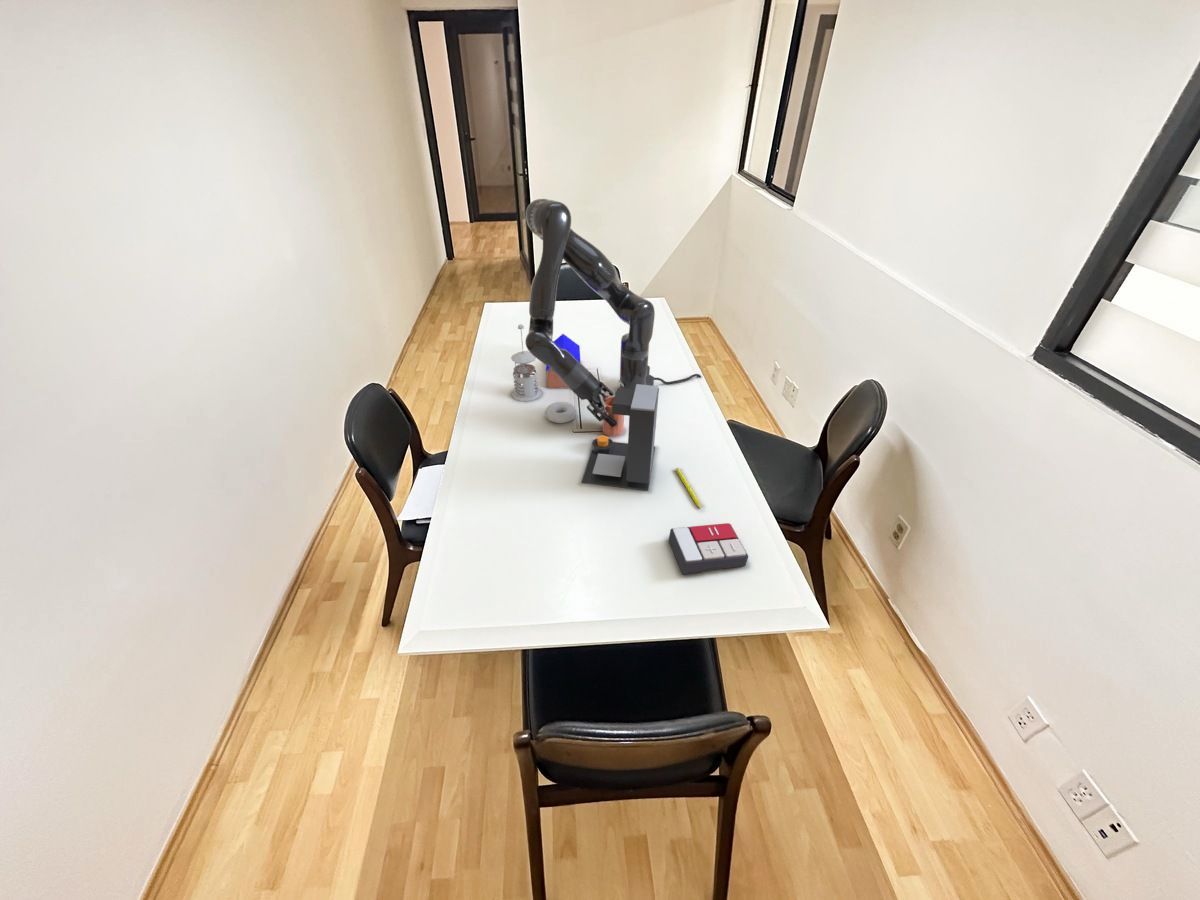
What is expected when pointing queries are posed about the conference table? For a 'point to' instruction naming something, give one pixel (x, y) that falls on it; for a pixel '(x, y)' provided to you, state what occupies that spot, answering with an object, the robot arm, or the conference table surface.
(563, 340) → the house
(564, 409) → the donut
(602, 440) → the brew button
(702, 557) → the calculator
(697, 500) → the pencil
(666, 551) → the conference table surface
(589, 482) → the coffee maker base
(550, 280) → the robot arm
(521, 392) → the french press
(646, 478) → the coffee maker
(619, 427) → the tumbler
